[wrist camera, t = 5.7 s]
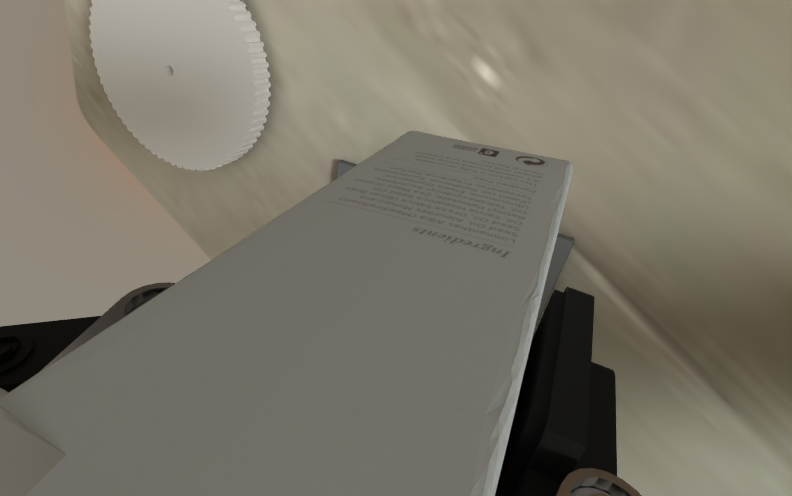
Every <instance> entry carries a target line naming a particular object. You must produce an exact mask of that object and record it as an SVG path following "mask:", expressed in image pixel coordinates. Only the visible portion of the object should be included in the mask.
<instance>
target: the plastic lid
mask: <svg viewBox="0 0 792 496" xmlns="http://www.w3.org/2000/svg"><path fill="white" fill-rule="evenodd" d="M91 3H92V4H93V5H92V7H90V12H91V16H89V20H90V21H91V25H89V29H90V30H91V34H89V37H90V39H91V41H92V43H90V45H91V48H92V49H93V53H92V56H93V57H94V59H95V62H94V65H95V66H96V67H97V70H98V71H97V75H98V76H100V79H101V80H100V83H101V84H102V85H103V87H104V89H103V90H104V92H105V93H106V94H107V96H108V98H107V99H108V101H109V102H111V103H112V108H113V110H116V112H117V116H118V117H120V118H121V120H122V123H123V125H126V126H127V130H128V131H129V132H132V133H133V137H134V138H137V139H138V140H139V143H140V144H143V145H144V146H145V148H146V149H147V150H148V149H149V150H151V153H152V154H153V155H154V154H156V155H157V157H158V158H159V159H164V161H165V162H166V163H167V162H170V163H171V165H173V166H174V165H177V167H178V168H182V167H183V168H184V169H185V170H188V169H190V170H191V171H194V170H197V171H201V170H204V171H207V170H209V169H210V170H212V169H215V168H219V167H221V166H223V165H226V164H228V163H230V162H233V161H235V160H237V159H238V158H240V157H242V156H243V154H245V153H247V152H248V149H251V148H252V147H253V145H252V144H254V143H256V142H257V139H256V138H257V137H260V135H261V133H260V131H261V130H263V129H264V126H263V123H265V122H266V120H267V119H266V118H265V116H266V115H268V112H269V111H268V110H267V106H270V102H269V101H268V97H270V96H271V93H270V92H269V87H271V83H270V82H269V80H268V78H269V77H270V73H269V72H268V70H267V68H268V67H269V64H268V62H266V59H265V58H266V57H267V55H266V52H264V51H263V47H264V44H263V42H261V41H260V38H259V37H260V36H261V35H260V33H259V31H257V30H256V28H255V27H256V23H255V21H252V20H251V13H250V12H249V11H247V10H246V9H245V7H246V5H245V3H244V2H241V1H240V0H91Z"/></svg>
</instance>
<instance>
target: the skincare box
mask: <svg viewBox="0 0 792 496" xmlns="http://www.w3.org/2000/svg"><path fill="white" fill-rule="evenodd" d="M572 171H573V164H572V163H571V162H569V161H565V160H559V159H554V158H549V157H544V156H539V155H534V154H529V153H523V152H518V151H513V150H508V149H503V148H498V147H493V146H487V145H482V144H476V143H471V142H466V141H462V140H457V139H452V138H446V137H441V136H436V135H432V134H427V133H423V132H418V131H410V132H407V133H406V134H404V135H402V136H401V137H400V138H398V139H397V140H395V141H394V142H393V143H391V144H389V145H387V146H386V147H384V148H383V149H381V150H380V151H378V152H377V153H375V154H374V155H372V156H371V157H369V158H368V159H366V160H364V161H363V162H361V163H360V164H358V165H357V166H355V167H354V168H352V169H351V170H349V171H347V172H346V173H345V174H343V175H342V176H340V177H339V178H337V179H336V180H334V181H333V182H331V183H330V184H328V185H327V186H325V187H323V188H322V189H320V190H319V191H317V192H315V193H314V194H312V195H311V196H309V197H308V198H306V199H305V200H303V201H302V202H300V203H298V204H297V205H295V206H294V207H292V208H291V209H289V210H288V211H286V212H285V213H283V214H281V215H280V216H278V217H277V218H275V219H274V220H272V221H271V222H269V223H268V224H266V225H265V226H263V227H262V228H260V229H259V230H257V231H255V232H254V233H252V234H251V235H249V236H248V237H246V238H245V239H243V240H242V241H240V242H239V243H237V244H236V245H234V246H233V247H231V248H230V249H228V250H227V251H225V252H224V253H222V254H221V255H219V256H217V257H216V258H214V259H213V260H211V261H210V262H208V263H207V264H205V265H204V266H202V267H201V268H199V269H198V270H196V271H194V272H193V273H191V274H190V275H188V276H186V277H185V278H183V279H182V280H180V281H179V282H177V283H176V284H174V285H173V286H171V287H169V288H168V289H166V290H165V291H163V292H162V293H160V294H159V295H157V296H156V297H154V298H153V299H151V300H150V301H148V302H147V303H145V304H144V305H142V306H140V307H139V308H137V309H136V310H134V311H133V312H131V313H130V314H128V315H127V316H125V317H124V318H122V319H121V320H119V321H118V322H116V323H115V324H113V325H111V326H110V327H108V328H107V329H105V330H103V331H102V332H100V333H99V334H97V335H96V336H95V337H93V338H92V339H90V340H89V341H87V342H86V343H84V344H83V345H81V346H80V347H78V348H77V349H75V350H74V351H72V352H71V353H69V354H67V355H66V356H64V357H63V358H61V359H60V360H58V361H57V362H55V363H54V364H52V365H50V366H49V367H47V368H46V369H44V370H42V371H41V372H39V373H38V374H36V375H35V376H33V377H32V378H30V379H29V380H27V381H26V382H24V383H23V384H21V385H20V386H18V387H17V388H15V389H14V390H12V391H11V392H9V393H8V394H6V395H5V396H3V397H2V398H0V406H1V407H3V408H4V409H5V410H7V411H8V412H9V413H11V414H12V415H13V416H15V417H16V418H17V419H19V420H20V421H21V422H22V423H24V424H25V425H26V426H28V427H29V428H30V429H32V430H33V431H34V432H36V433H37V434H38V435H40V436H41V437H43V438H44V439H45V440H47V441H48V442H50V443H51V444H52V445H54V446H55V447H57V448H58V449H59V450H61V451H62V452H64V453H65V454H66V456H65V457H64V458H63V459H62V460H61V461H60V462H59V463H58V464H57V465H56V466H55V467H54V468H53V469H52V470H51V471H50V472H49V473H48V474H47V475H46V476H45V477H44V478H42V479H41V480H40V481H39V482H38V483H37V484H36V485H35V486H34V487H33V488H32V489H31V490H30V491H29V492H28V493H27V494H26V495H25V496H495V493H496V488H497V484H498V480H499V476H500V472H501V468H502V464H503V460H504V455H505V451H506V447H507V443H508V439H509V435H510V430H511V426H512V422H513V418H514V414H515V409H516V405H517V401H518V396H519V392H520V388H521V383H522V379H523V374H524V371H525V367H526V363H527V358H528V354H529V350H530V346H531V341H532V337H533V333H534V328H535V324H536V320H537V316H538V311H539V307H540V303H541V298H542V294H543V290H544V286H545V282H546V278H547V274H548V270H549V266H550V262H551V258H552V254H553V250H554V246H555V242H556V238H557V235H558V230H559V226H560V221H561V217H562V213H563V209H564V205H565V201H566V197H567V192H568V188H569V184H570V180H571V176H572Z"/></svg>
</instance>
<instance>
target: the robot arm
mask: <svg viewBox="0 0 792 496" xmlns="http://www.w3.org/2000/svg"><path fill="white" fill-rule="evenodd" d="M174 284H176V283H155V284H152V285H146V286H143V287H140V288H138V289H135V290H133V291H131V292H129V293H128V294H127V295H125V296H124V297H122V298H121V299H120V300H119V301H118V302H117V303H116V304H114V306H112V307H111V308H110V309H109V310H108V311H107V312H106V313H104V315H102V316H96V317H87V318H77V319H68V320H58V321H49V322H40V323H30V324H21V325H13V326H2V327H0V398H2V397H3V396H5V395H6V394H8V393H9V392H11V391H12V390H14V389H15V388H17V387H18V386H20V385H21V384H23V383H24V382H26V381H27V380H29V379H30V378H32V377H33V376H35V375H36V374H38V373H39V372H41V371H42V370H44V369H46V368H47V367H49V366H50V365H52V364H54V363H55V362H57V361H58V360H60V359H61V358H63V357H64V356H66V355H67V354H69V353H71V352H72V351H74V350H75V349H77V348H78V347H80V346H81V345H83V344H84V343H86V342H87V341H89V340H90V339H92V338H93V337H95V336H96V335H97V334H99V333H100V332H102V331H103V330H105V329H107V328H108V327H110V326H111V325H113V324H115V323H116V322H118V321H119V320H121V319H122V318H124V317H125V316H127V315H128V314H130V313H131V312H133V311H134V310H136V309H137V308H139V307H140V306H142V305H144V304H145V303H147V302H148V301H150V300H151V299H153V298H154V297H156V296H157V295H159V294H160V293H162V292H163V291H165V290H166V289H168V288H169V287H171V286H173V285H174ZM593 316H594V296H591V295H589V294H586V293H583V292H580V291H577V290H575V289H572V288H569V287H567V288H566V289H565V291H564V293H563V292H560V291H557V290H554V292H553V294H552V296H551V298H550V301H549V303H548V305H547V307H546V310H545V312H544V314H543V317H542V319H541V321H540V323H539V326H538V328H537V330H536V332H535V335H534V337H533V339H532V342H531V346H530V350H529V354H528V358H527V363H526V367H525V371H524V374H523V379H522V383H521V388H520V392H519V396H518V401H517V405H516V409H515V414H514V418H513V422H512V426H511V430H510V435H509V439H508V443H507V447H506V451H505V455H504V460H503V464H502V468H501V472H500V476H499V480H498V484H497V488H496V493H495V496H641V495H640V493H639V492H638V491H637V490H636V489H634V488H633V487H632V486H630V485H629V484H628V483H626V482H625V481H624V480H623V479H621V478H619V477H617V451H616V394H615V373H614V371H613V370H611V369H609V368H606V367H603V366H601V365H598V364H596V363H593V362H591V357H592V337H593ZM65 456H66V454H65V453H64V452H62V451H61V450H59V449H58V448H57V447H55V446H54V445H52V444H51V443H50V442H48V441H47V440H45V439H44V438H43V437H41V436H40V435H38V434H37V433H36V432H34V431H33V430H32V429H30V428H29V427H28V426H26V425H25V424H24V423H22V422H21V421H20V420H19V419H17V418H16V417H15V416H13V415H12V414H11V413H9V412H8V411H7V410H5V409H4V408H3V407H1V406H0V496H25V495H26V494H27V493H28V492H29V491H30V490H31V489H32V488H33V487H34V486H35V485H36V484H37V483H38V482H39V481H40V480H41V479H42V478H44V477H45V476H46V475H47V474H48V473H49V472H50V471H51V470H52V469H53V468H54V467H55V466H56V465H57V464H58V463H59V462H60V461H61V460H62V459H63V458H64V457H65Z"/></svg>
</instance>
